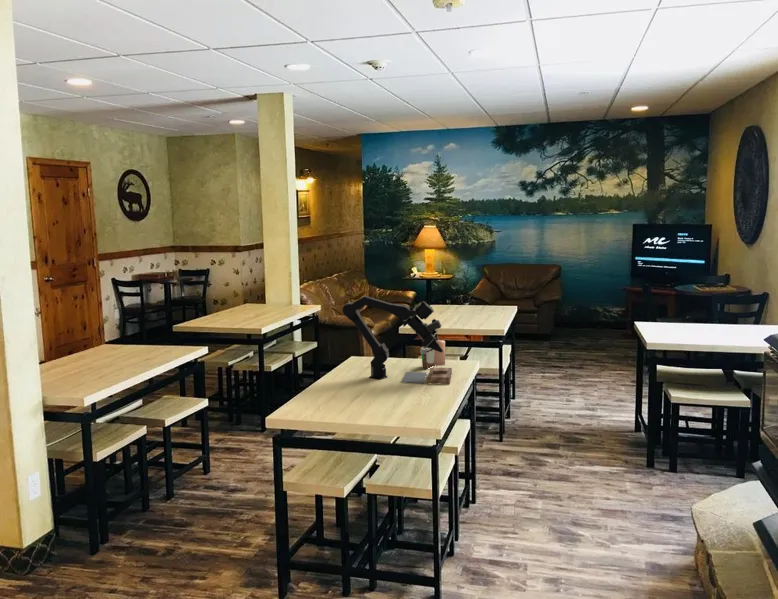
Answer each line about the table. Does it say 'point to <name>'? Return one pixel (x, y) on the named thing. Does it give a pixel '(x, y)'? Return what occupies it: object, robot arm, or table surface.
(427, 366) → the food container
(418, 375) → the mat
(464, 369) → the table surface
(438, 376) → the well block
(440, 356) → the pink tall rounded piece
